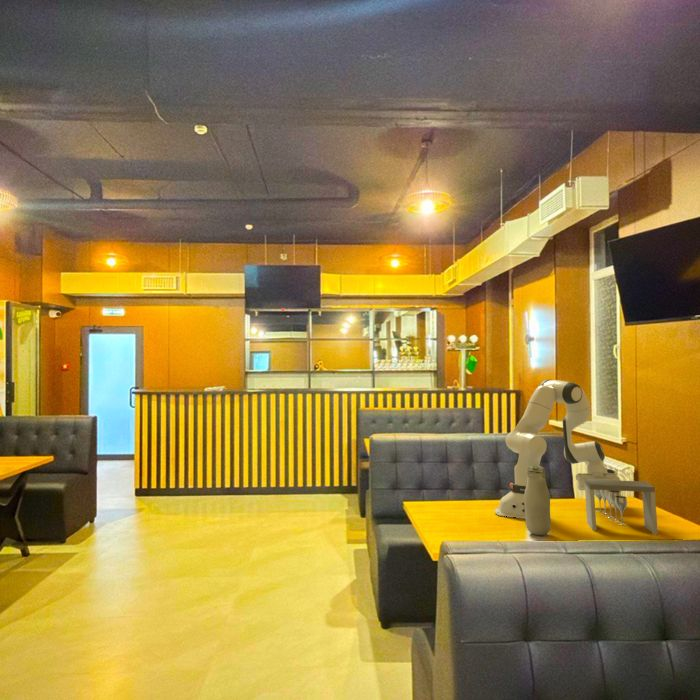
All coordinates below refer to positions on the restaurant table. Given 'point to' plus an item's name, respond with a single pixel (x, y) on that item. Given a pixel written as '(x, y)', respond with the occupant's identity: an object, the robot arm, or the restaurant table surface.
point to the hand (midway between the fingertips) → (602, 497)
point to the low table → (617, 485)
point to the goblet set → (612, 501)
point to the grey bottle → (537, 501)
